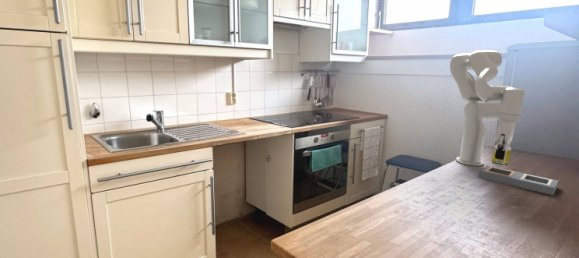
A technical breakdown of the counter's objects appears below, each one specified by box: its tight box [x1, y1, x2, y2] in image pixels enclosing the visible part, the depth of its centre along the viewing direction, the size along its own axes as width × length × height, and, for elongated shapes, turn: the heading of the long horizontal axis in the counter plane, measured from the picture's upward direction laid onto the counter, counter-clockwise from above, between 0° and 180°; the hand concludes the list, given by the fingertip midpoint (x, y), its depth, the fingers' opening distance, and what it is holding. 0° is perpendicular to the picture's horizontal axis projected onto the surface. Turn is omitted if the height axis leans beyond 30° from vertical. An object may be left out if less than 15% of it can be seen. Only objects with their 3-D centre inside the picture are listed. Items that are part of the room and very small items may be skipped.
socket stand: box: [478, 165, 559, 196], centre depth 136 cm, size 12×26×3 cm, turn 45°
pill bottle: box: [491, 140, 512, 168], centre depth 140 cm, size 6×6×11 cm
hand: (501, 156), depth 140 cm, fingers closed on pill bottle, 6 cm apart
